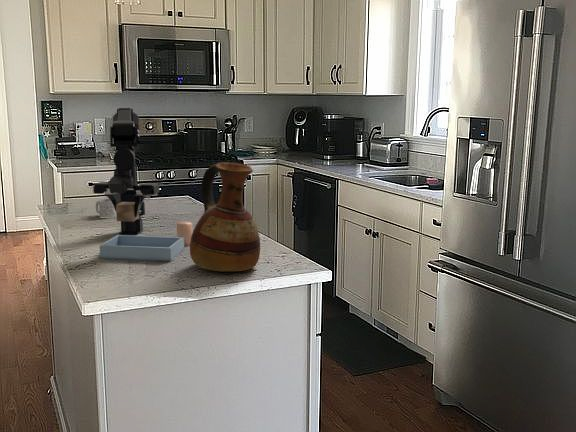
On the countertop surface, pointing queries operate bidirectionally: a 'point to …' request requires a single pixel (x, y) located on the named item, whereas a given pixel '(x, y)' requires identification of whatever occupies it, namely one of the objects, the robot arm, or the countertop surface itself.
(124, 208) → the walnut block
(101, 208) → the mug
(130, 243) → the tote
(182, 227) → the brown egg
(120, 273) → the countertop surface
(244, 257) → the ceramic pitcher
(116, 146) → the robot arm
